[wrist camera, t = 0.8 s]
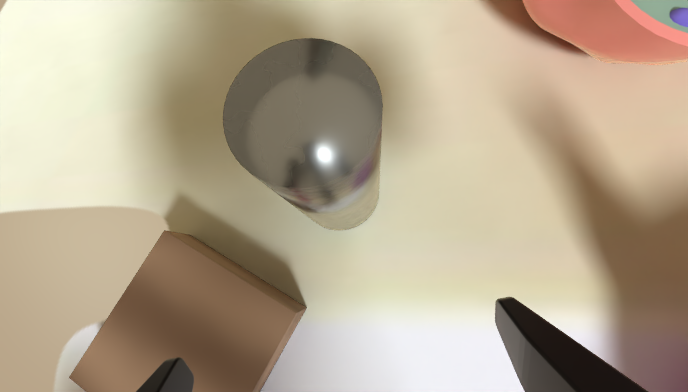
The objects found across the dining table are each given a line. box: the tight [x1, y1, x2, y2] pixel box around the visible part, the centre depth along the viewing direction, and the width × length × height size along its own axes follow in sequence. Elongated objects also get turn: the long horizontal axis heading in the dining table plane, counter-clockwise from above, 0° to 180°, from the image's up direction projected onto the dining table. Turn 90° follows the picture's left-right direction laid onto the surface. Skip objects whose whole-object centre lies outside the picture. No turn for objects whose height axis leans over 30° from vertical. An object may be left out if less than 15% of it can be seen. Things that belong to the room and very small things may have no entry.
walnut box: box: [69, 231, 307, 392], centre depth 21 cm, size 10×10×3 cm
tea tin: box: [223, 38, 383, 230], centre depth 17 cm, size 6×6×12 cm
